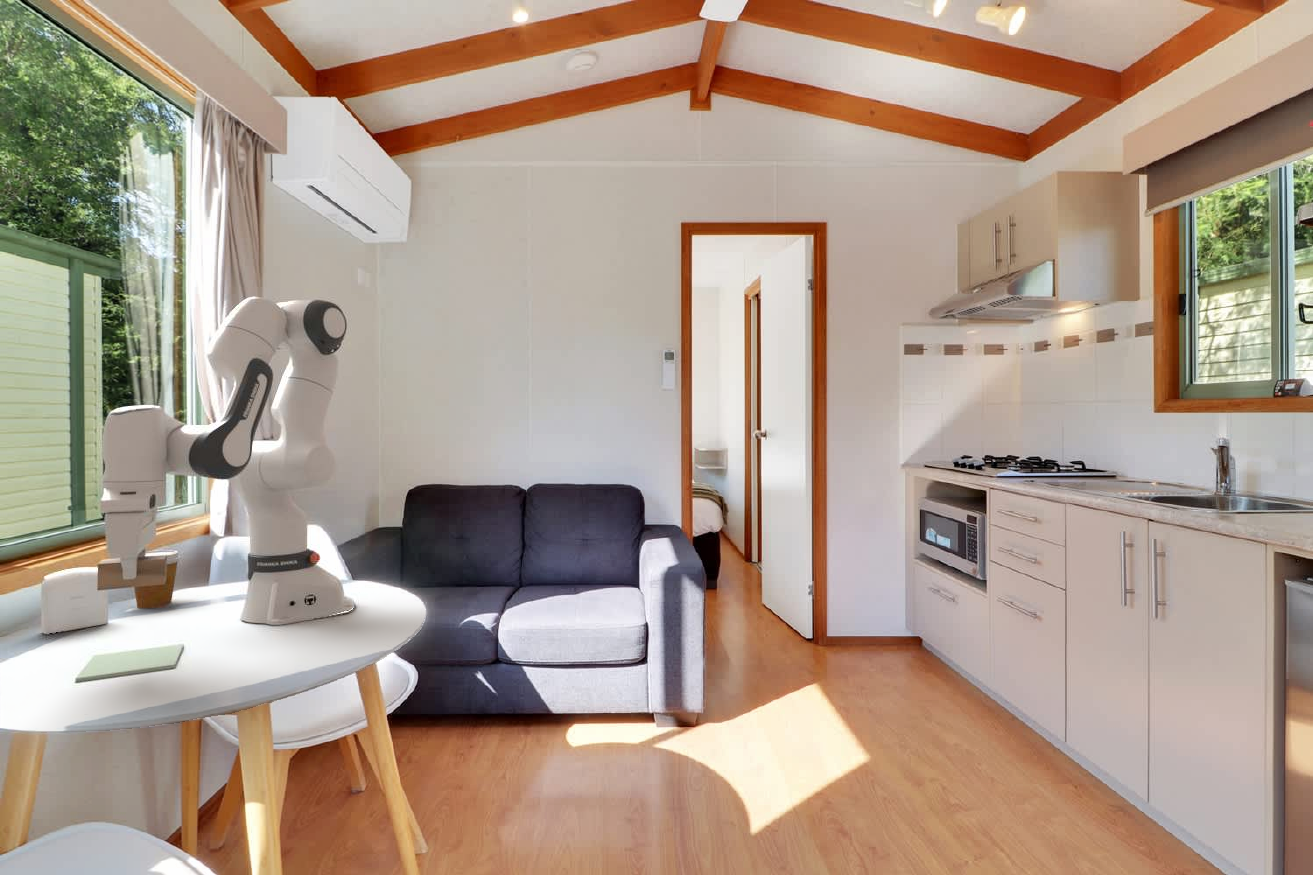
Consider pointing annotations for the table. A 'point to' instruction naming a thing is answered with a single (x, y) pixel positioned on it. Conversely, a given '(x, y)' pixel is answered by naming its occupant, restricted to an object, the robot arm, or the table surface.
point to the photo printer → (72, 600)
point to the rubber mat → (131, 662)
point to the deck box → (149, 574)
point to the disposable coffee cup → (159, 593)
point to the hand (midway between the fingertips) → (133, 574)
